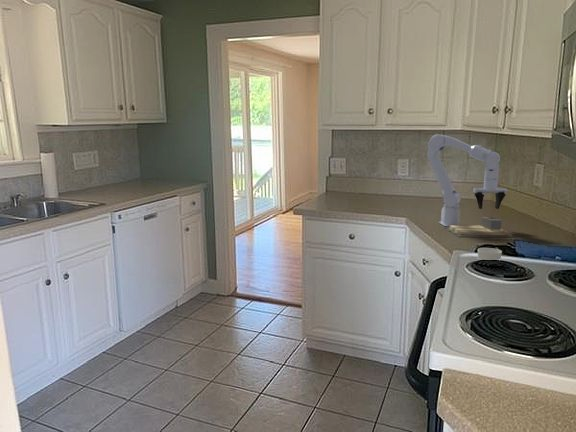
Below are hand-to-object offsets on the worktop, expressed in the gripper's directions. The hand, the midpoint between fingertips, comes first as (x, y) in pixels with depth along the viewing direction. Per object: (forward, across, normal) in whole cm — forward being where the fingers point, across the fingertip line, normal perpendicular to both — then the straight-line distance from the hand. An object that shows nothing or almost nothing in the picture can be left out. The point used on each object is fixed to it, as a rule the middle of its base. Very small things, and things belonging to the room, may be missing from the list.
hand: (488, 208), depth 200 cm
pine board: (+9, -8, -8) cm, 15 cm away
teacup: (+10, -24, -57) cm, 63 cm away
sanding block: (+8, -2, -9) cm, 12 cm away
